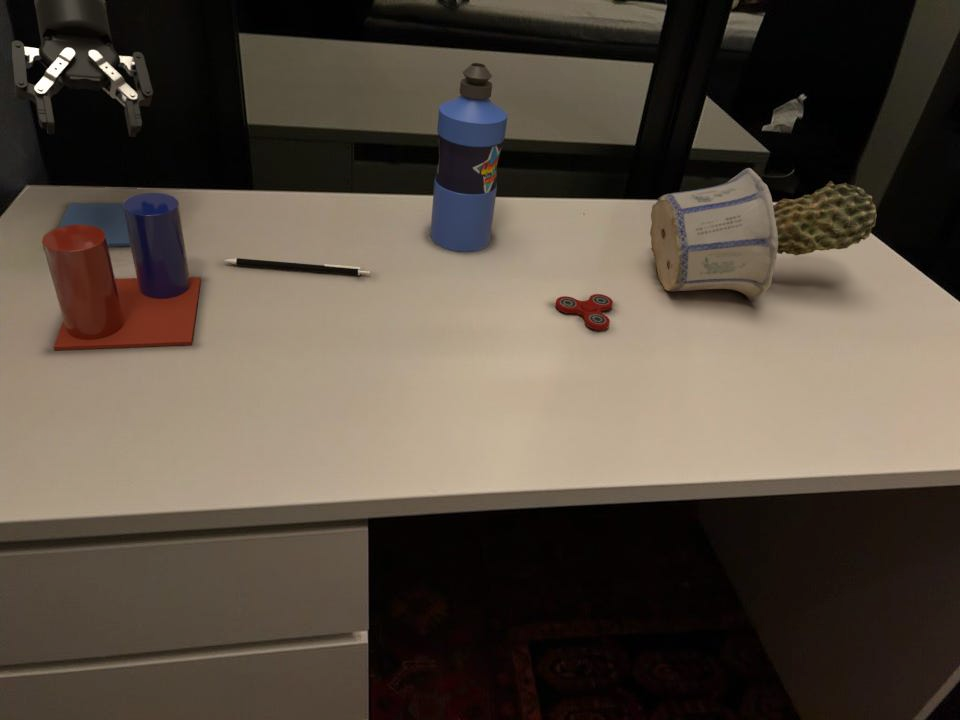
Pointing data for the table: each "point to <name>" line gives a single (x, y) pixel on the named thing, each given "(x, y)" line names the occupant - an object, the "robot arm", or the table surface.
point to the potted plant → (749, 232)
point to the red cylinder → (84, 281)
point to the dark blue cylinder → (157, 244)
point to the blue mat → (100, 220)
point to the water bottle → (467, 164)
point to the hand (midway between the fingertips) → (93, 132)
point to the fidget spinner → (588, 309)
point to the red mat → (144, 320)
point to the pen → (299, 266)
